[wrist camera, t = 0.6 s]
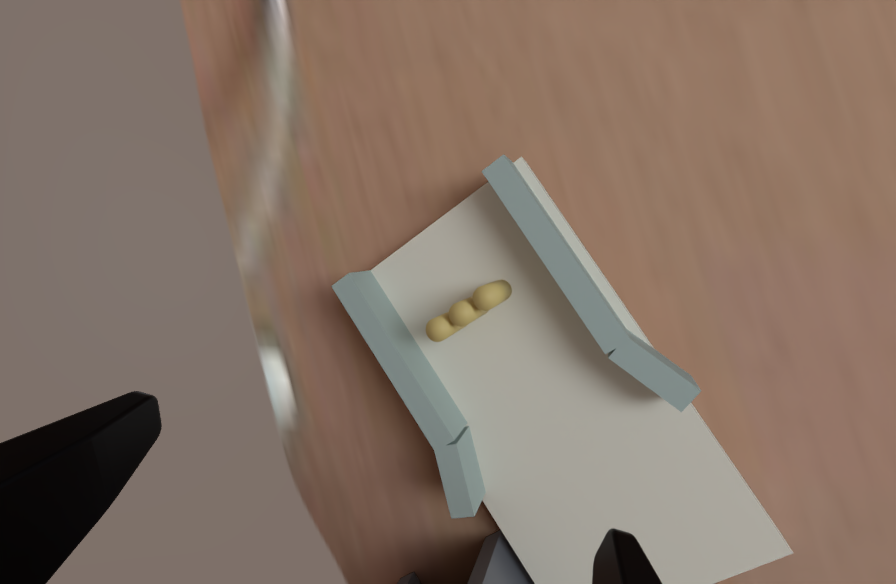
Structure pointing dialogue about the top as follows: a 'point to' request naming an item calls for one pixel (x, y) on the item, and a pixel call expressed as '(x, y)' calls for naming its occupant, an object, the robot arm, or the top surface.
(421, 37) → the top surface
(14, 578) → the robot arm
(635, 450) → the board
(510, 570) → the grey block
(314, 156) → the top surface
